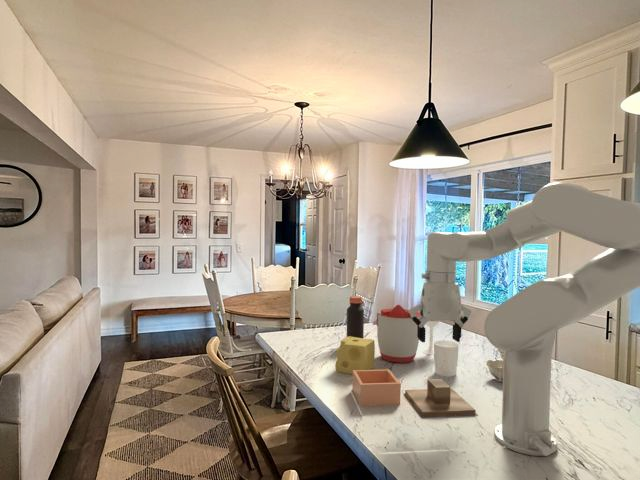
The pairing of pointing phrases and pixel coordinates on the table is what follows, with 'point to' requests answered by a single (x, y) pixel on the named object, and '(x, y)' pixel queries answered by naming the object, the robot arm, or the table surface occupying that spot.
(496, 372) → the chinaware
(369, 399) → the salmon orange open box
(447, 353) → the white cup
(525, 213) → the robot arm
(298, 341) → the table surface
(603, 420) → the table surface
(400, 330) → the citrus juicer
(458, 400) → the lid
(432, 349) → the champagne flute
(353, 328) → the bottle
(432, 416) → the mat
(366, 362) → the cheese
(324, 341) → the table surface
